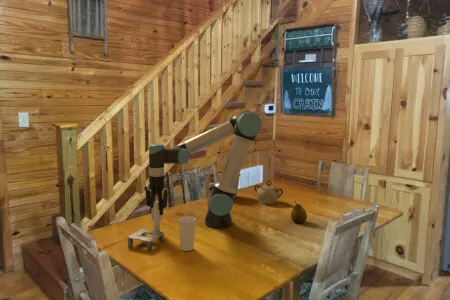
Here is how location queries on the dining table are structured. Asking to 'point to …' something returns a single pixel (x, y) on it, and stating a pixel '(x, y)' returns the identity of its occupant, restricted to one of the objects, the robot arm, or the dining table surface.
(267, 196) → the sugar bowl
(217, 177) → the canister
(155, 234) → the stand
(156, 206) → the beige rod
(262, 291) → the dining table surface
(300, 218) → the fruit
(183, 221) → the cup
